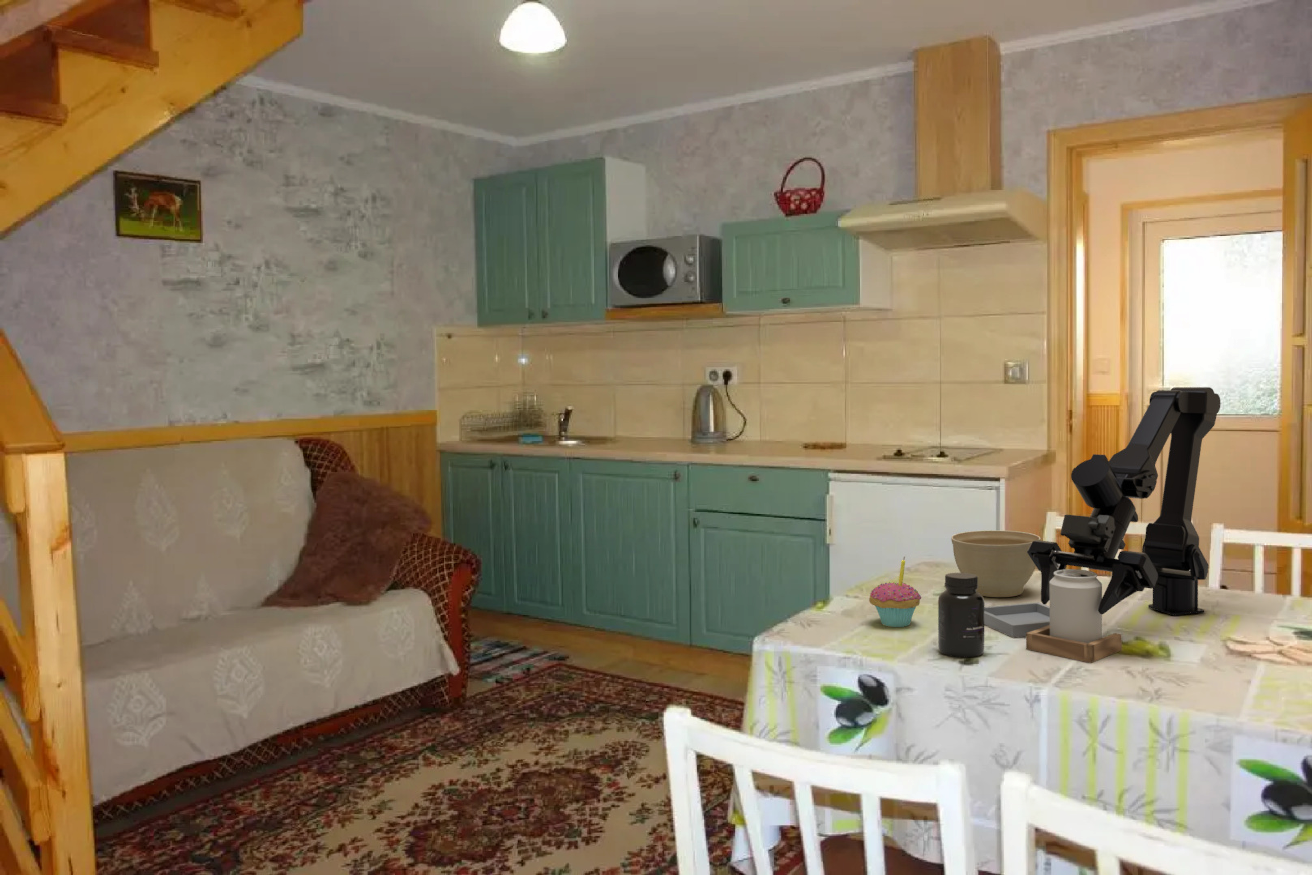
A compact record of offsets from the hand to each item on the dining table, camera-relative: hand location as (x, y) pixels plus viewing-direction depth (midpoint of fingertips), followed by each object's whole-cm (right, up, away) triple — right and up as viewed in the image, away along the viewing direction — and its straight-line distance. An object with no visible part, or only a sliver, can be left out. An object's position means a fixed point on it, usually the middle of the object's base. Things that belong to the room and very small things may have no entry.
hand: (1070, 607), depth 156 cm
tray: (-1, -6, +16) cm, 17 cm away
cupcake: (-22, -6, +20) cm, 30 cm away
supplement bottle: (-16, -7, +2) cm, 18 cm away
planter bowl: (+2, -4, +40) cm, 40 cm away
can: (+1, -7, +1) cm, 7 cm away
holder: (+1, -7, +1) cm, 7 cm away
